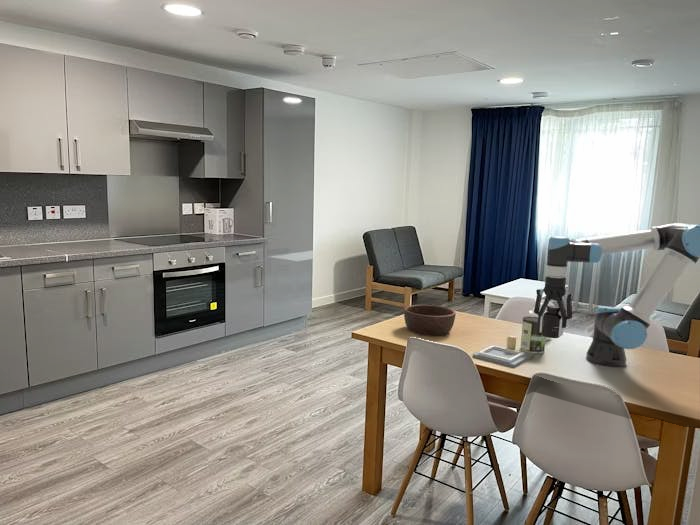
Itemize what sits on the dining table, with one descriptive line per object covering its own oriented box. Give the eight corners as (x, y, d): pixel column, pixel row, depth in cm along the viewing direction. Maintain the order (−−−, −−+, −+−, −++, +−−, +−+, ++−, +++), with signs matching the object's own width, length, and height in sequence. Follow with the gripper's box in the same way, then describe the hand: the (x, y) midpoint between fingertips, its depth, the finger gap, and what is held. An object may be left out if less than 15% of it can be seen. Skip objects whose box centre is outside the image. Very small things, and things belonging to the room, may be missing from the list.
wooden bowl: (392, 328, 260) (393, 308, 259) (425, 321, 277) (426, 302, 275) (432, 340, 242) (433, 318, 240) (464, 332, 259) (466, 312, 257)
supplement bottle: (557, 339, 205) (559, 309, 203) (539, 336, 209) (541, 306, 208) (562, 336, 211) (564, 306, 209) (544, 332, 215) (547, 303, 213)
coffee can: (547, 350, 235) (550, 319, 233) (540, 355, 226) (543, 323, 225) (524, 345, 241) (527, 315, 239) (516, 350, 233) (519, 318, 231)
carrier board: (533, 356, 224) (534, 340, 223) (514, 367, 209) (515, 350, 208) (493, 347, 236) (494, 331, 235) (472, 356, 220) (473, 340, 219)
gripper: (585, 278, 203) (579, 336, 206) (534, 272, 216) (530, 327, 219) (579, 280, 197) (573, 340, 201) (527, 274, 210) (523, 330, 213)
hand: (551, 333), depth 210 cm, fingers closed on supplement bottle, 7 cm apart
